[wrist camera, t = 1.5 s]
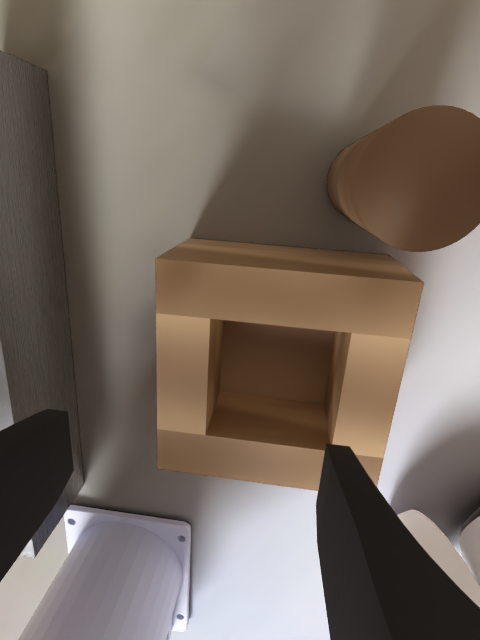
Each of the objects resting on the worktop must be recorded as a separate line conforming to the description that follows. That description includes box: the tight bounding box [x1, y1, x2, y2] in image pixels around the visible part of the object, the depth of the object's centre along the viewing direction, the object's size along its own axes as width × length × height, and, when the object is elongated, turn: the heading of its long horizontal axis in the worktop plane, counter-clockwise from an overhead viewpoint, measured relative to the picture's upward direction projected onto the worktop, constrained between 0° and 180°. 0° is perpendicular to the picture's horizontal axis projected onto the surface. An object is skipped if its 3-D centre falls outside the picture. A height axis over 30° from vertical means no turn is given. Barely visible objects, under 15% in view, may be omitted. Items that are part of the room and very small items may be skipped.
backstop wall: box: [0, 50, 84, 558], centre depth 18 cm, size 22×2×5 cm, turn 177°
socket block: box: [155, 238, 424, 491], centre depth 17 cm, size 9×9×5 cm
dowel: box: [327, 106, 480, 252], centre depth 13 cm, size 3×3×8 cm
